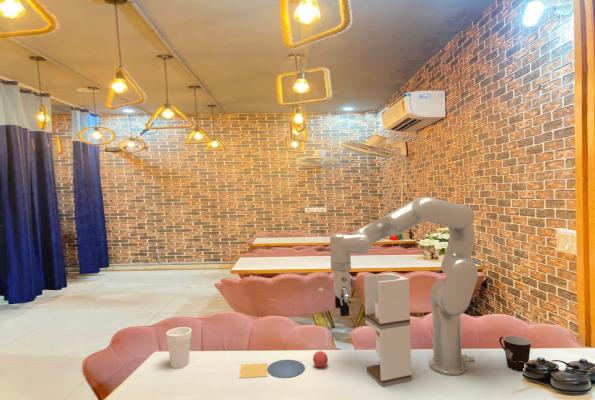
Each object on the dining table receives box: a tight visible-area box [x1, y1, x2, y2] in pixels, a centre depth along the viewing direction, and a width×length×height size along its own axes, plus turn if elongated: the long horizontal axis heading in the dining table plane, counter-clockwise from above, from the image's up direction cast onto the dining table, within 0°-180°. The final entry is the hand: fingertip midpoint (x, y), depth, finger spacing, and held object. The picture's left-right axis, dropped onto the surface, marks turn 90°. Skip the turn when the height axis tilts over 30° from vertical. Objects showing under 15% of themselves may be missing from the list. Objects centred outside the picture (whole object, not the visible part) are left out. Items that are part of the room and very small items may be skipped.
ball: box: [312, 350, 329, 368], centre depth 136 cm, size 6×6×6 cm
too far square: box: [238, 362, 268, 379], centre depth 134 cm, size 10×10×1 cm
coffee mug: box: [498, 335, 532, 373], centre depth 133 cm, size 12×9×10 cm
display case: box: [363, 272, 412, 388], centre depth 127 cm, size 11×11×35 cm
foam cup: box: [165, 326, 193, 369], centre depth 141 cm, size 10×9×13 cm
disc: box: [267, 359, 306, 379], centre depth 135 cm, size 14×14×1 cm
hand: (342, 311), depth 137 cm, fingers open, 9 cm apart
